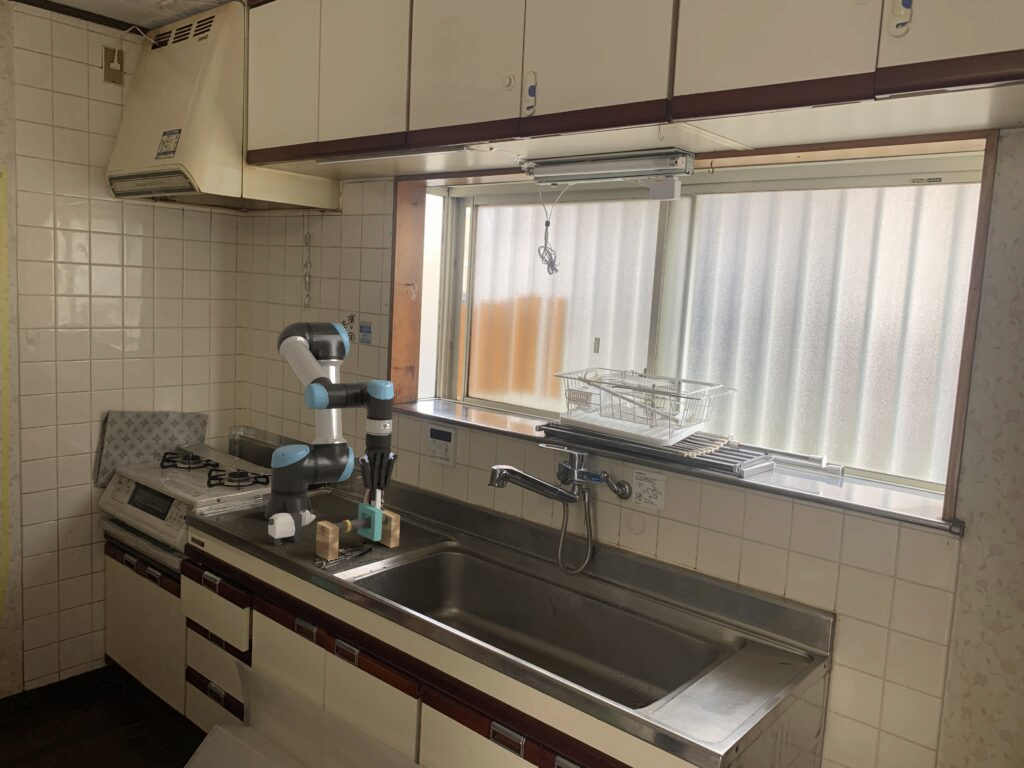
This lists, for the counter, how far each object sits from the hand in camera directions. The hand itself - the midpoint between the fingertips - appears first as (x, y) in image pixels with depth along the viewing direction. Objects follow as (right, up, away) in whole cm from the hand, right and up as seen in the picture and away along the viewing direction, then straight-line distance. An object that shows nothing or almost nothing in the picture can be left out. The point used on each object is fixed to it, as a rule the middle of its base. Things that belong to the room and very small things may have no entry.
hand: (375, 510), depth 231 cm
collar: (-2, -8, 0) cm, 8 cm away
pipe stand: (-5, -11, -2) cm, 12 cm away
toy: (-4, -9, +20) cm, 22 cm away
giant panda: (-26, -10, +2) cm, 28 cm away
